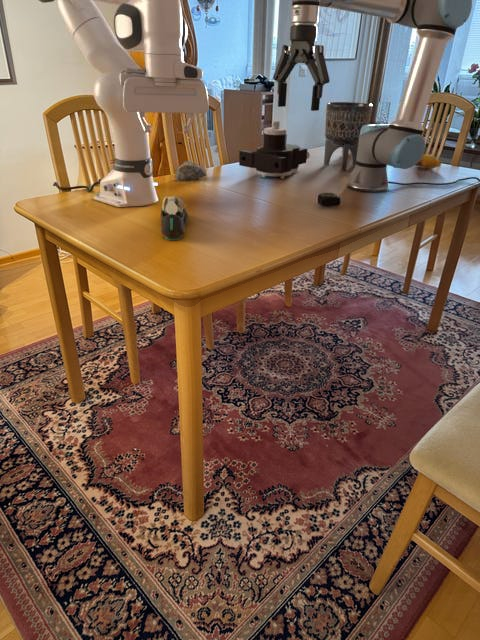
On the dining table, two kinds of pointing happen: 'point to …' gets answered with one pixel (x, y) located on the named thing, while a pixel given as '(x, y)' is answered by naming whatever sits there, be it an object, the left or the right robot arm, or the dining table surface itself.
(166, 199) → the ballet flat
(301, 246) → the dining table surface
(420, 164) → the toy
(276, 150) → the mechanical component
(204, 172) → the rock
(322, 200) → the tape measure
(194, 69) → the left robot arm
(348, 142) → the planter
